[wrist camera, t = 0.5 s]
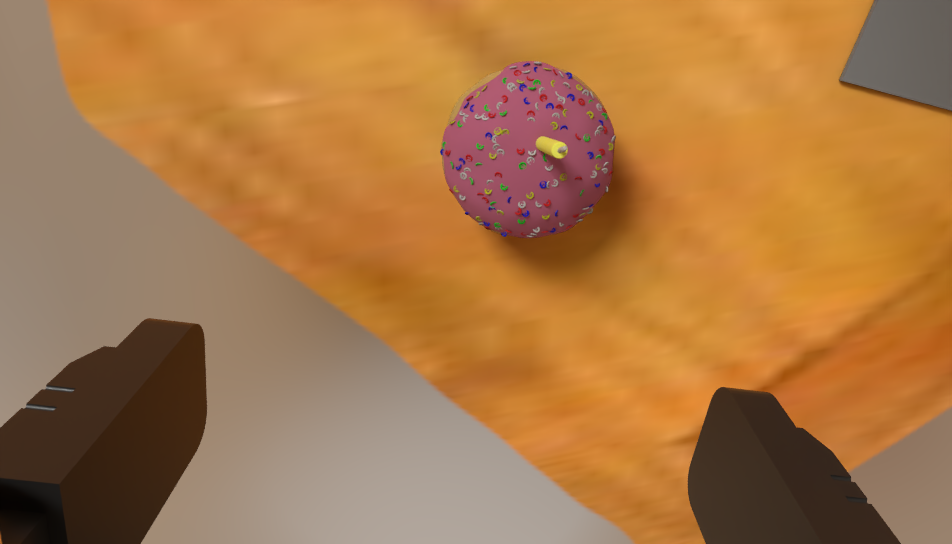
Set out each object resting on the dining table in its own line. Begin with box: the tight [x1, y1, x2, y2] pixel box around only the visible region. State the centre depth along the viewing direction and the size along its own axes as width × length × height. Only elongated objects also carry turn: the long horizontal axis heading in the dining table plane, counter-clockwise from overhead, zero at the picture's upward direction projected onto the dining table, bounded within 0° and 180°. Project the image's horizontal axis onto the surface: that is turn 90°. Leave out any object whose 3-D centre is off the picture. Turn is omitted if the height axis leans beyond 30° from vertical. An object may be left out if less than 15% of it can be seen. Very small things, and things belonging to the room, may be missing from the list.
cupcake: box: [440, 61, 616, 238], centre depth 31 cm, size 9×8×12 cm
